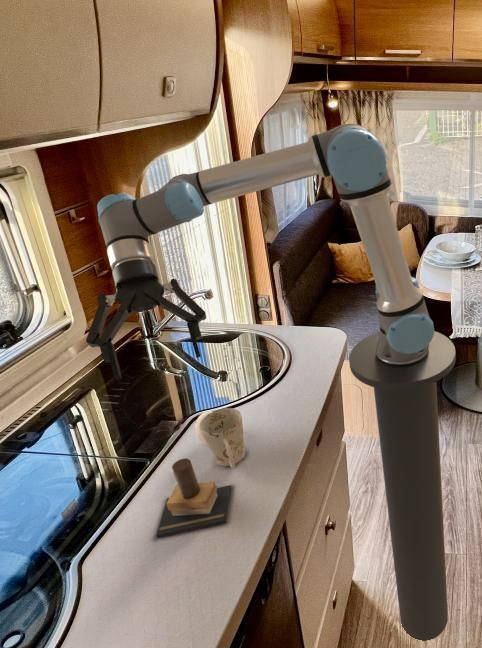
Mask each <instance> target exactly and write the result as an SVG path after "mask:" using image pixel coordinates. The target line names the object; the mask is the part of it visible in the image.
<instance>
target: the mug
mask: <svg viewBox="0 0 482 648" xmlns="http://www.w3.org/2000/svg"><path fill="white" fill-rule="evenodd" d="M242 416H243V415H242V413H241V411H240V410H238V409H237V408H232V407H225V408H219V409H216V410H214V411H213V412H212V413H210V414H208V415H207V416H205V417H204V418H203V419H202V421H201V422H200V426H199V427H200V431H201V433H202V435H203V437H204V439H205V441H206V442H207V444H206V445H207V446H208V448H209V450H210V452H211V455H212V456H213V458H214V460H215V462H216V464H217V465H219V466H221V467H230V468H231V469H235V468H236V464H238V463H239V462H241V460H243V459H244V458H245V455H246V445H245V437H244V436H245V435H244V426H243V417H242Z"/></svg>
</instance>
